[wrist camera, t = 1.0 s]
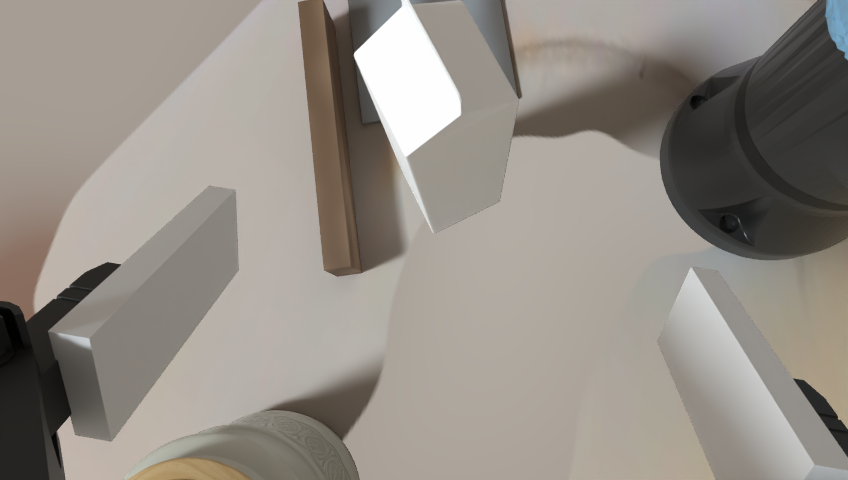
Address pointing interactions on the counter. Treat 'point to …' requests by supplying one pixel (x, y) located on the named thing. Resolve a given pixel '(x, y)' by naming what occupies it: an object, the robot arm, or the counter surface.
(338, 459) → the jar
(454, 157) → the milk
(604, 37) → the counter surface
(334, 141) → the guide jig
